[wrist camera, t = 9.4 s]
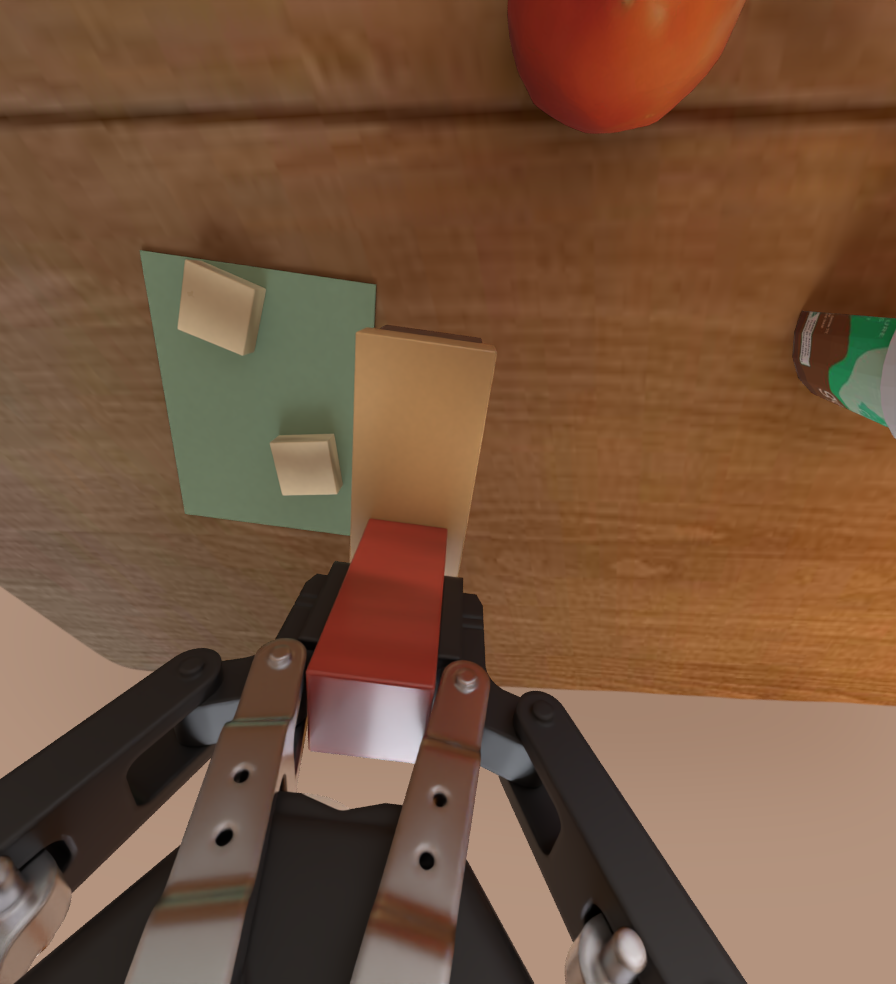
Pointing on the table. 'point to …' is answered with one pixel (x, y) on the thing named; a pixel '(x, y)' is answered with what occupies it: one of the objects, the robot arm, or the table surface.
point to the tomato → (616, 56)
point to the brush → (399, 538)
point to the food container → (849, 362)
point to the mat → (260, 392)
